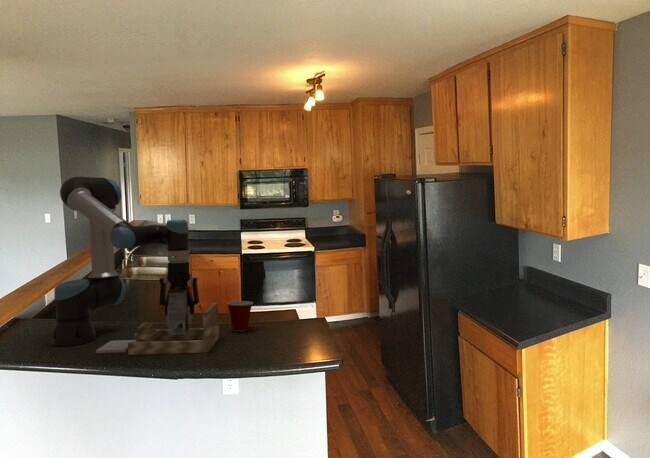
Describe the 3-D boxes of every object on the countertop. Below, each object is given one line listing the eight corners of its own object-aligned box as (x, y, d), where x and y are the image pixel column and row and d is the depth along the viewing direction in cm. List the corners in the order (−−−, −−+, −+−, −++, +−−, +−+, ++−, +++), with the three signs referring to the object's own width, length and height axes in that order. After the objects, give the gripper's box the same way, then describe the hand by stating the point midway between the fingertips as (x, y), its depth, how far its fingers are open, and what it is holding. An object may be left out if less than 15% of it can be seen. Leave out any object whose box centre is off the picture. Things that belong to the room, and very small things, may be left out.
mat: (96, 353, 160) (96, 350, 160) (111, 343, 172) (111, 340, 172) (124, 352, 160) (124, 349, 160) (137, 342, 172) (137, 339, 172)
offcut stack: (134, 351, 162) (133, 329, 161) (144, 342, 172) (143, 322, 171) (148, 350, 162) (147, 328, 161) (158, 342, 172) (157, 321, 171)
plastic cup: (259, 328, 189) (258, 300, 189) (244, 335, 179) (243, 305, 179) (237, 326, 194) (237, 298, 193) (222, 332, 184) (221, 303, 183)
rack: (128, 354, 158) (126, 315, 157) (147, 339, 176) (145, 304, 175) (208, 352, 158) (207, 312, 158) (218, 337, 176) (217, 302, 176)
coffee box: (174, 328, 171) (173, 286, 170) (191, 327, 172) (190, 285, 171) (168, 335, 162) (166, 290, 161) (186, 334, 163) (185, 290, 162)
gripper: (147, 263, 162) (149, 326, 163) (202, 262, 162) (204, 325, 163) (155, 260, 169) (156, 321, 170) (207, 260, 170) (208, 320, 171)
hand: (180, 323), depth 167 cm, fingers closed on coffee box, 7 cm apart
